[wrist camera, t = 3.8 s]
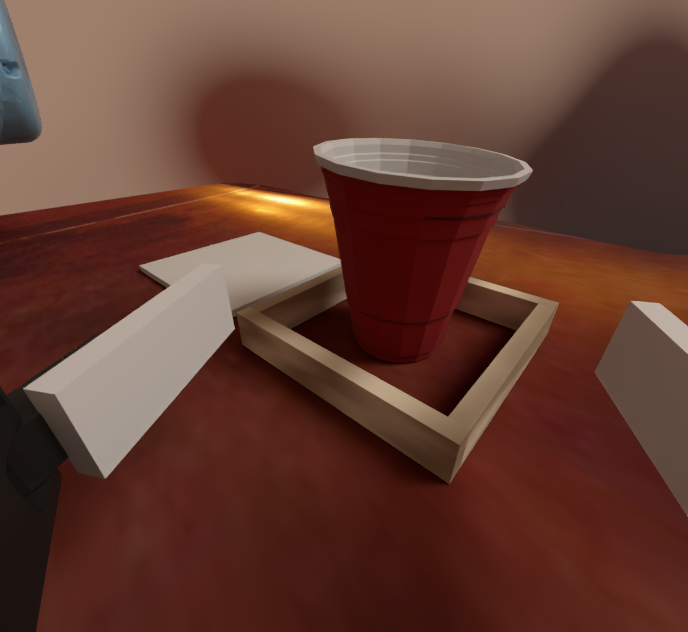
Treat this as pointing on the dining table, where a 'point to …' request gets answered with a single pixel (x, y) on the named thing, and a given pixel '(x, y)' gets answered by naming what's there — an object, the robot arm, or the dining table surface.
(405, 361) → the plastic cup
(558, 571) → the dining table surface
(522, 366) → the birch collar
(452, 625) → the dining table surface
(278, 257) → the white tile
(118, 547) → the dining table surface
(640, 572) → the dining table surface
